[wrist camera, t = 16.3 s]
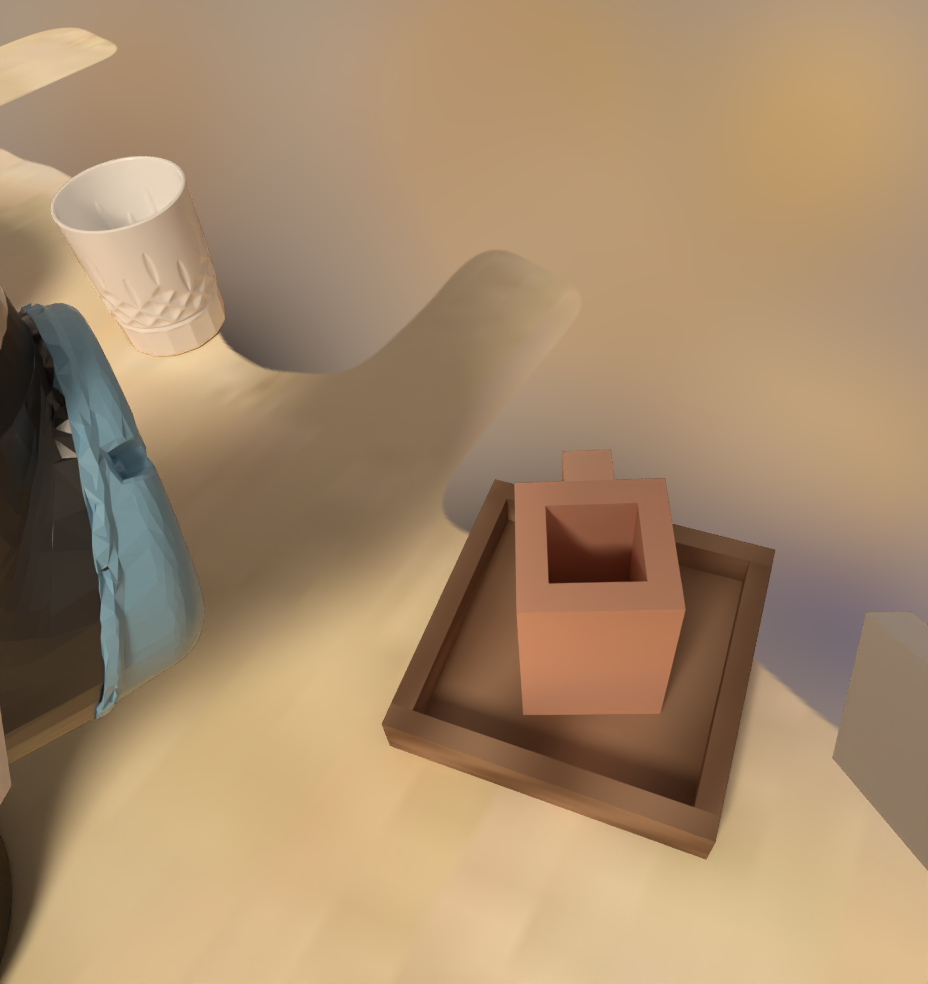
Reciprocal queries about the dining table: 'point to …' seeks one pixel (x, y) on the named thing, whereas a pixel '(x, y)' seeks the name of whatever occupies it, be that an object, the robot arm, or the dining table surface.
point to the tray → (593, 737)
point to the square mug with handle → (595, 590)
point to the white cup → (143, 251)
